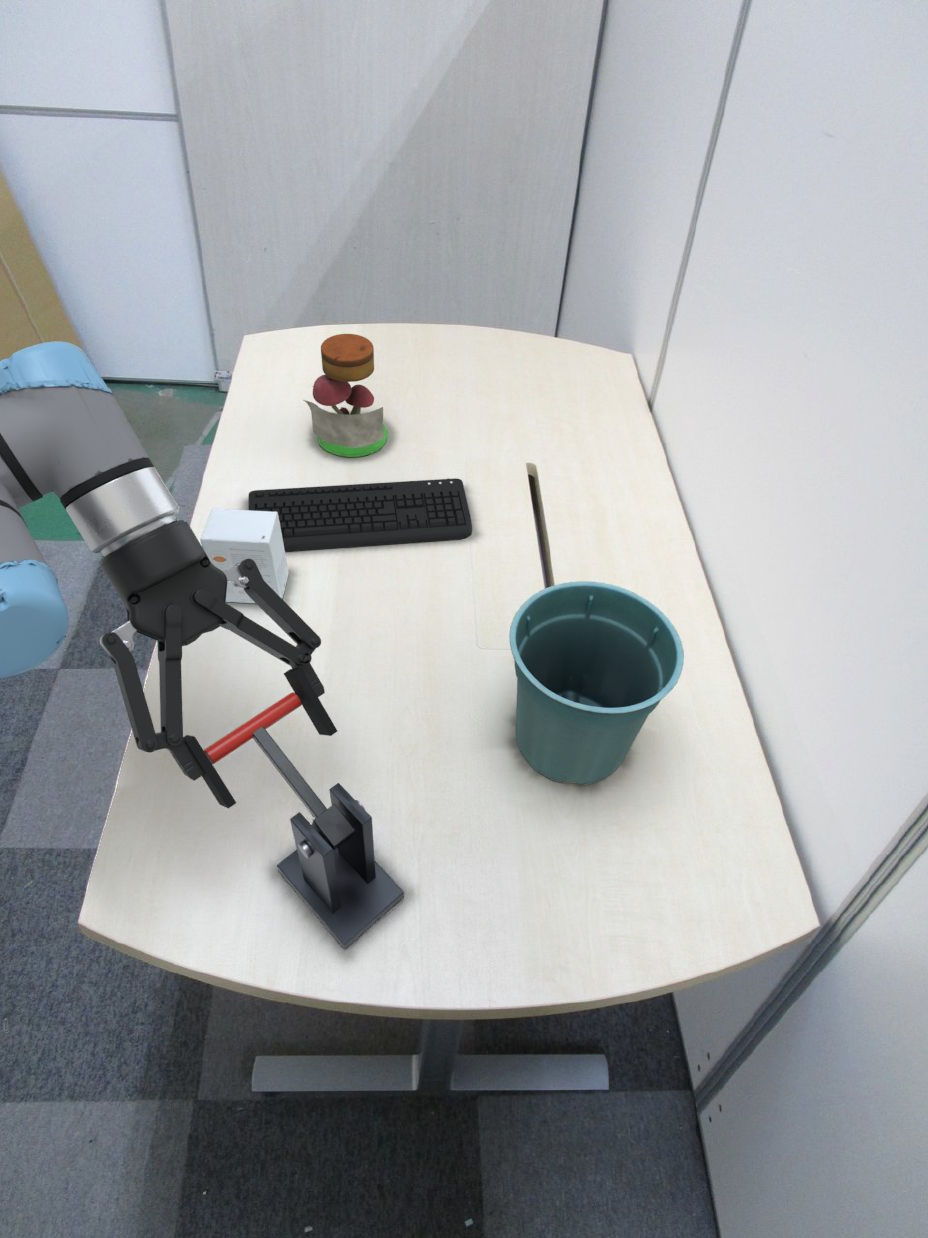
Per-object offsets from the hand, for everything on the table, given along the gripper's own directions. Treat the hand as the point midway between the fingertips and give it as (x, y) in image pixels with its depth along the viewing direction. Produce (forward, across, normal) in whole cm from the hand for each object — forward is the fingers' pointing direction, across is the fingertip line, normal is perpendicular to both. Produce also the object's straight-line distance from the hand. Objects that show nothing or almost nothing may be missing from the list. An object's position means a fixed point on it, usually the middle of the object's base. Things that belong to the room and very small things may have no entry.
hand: (280, 767), depth 68 cm
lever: (+2, 0, +1) cm, 2 cm away
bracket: (+14, 0, -3) cm, 14 cm away
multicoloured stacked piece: (-25, -45, -42) cm, 66 cm away
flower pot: (+16, -28, -1) cm, 33 cm away
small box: (-13, -16, -30) cm, 36 cm away
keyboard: (-14, -34, -31) cm, 48 cm away
